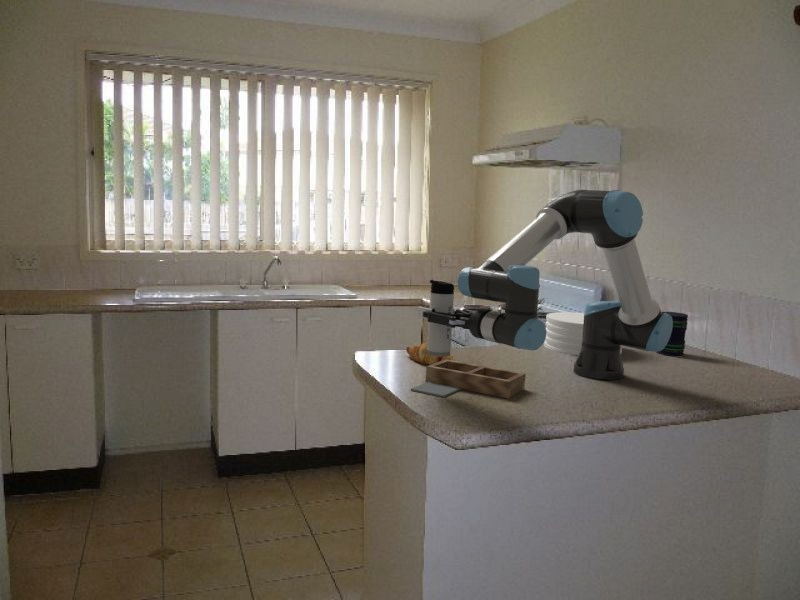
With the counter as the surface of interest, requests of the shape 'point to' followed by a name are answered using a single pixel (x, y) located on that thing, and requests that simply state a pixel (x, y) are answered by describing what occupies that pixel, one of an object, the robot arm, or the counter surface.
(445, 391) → the mat
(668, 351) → the storage jar
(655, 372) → the counter surface
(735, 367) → the counter surface
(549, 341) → the plate stack
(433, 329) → the travel mug
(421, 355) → the croissant
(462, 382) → the wooden divided tray
